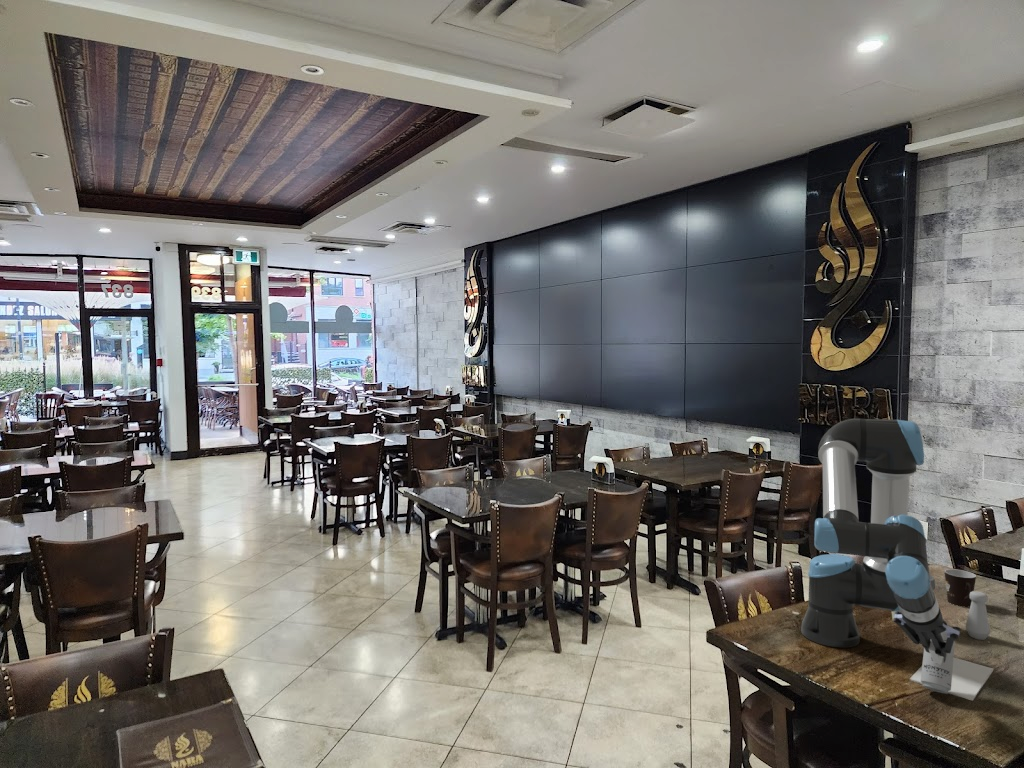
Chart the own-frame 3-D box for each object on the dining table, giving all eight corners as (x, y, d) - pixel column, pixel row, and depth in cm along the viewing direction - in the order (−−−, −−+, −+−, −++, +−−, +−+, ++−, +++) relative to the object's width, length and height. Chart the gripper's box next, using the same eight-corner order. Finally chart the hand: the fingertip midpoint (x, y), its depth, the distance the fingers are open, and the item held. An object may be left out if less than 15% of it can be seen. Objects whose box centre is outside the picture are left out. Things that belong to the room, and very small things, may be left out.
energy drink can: (920, 683, 150) (926, 620, 156) (920, 687, 155) (926, 625, 160) (951, 692, 147) (956, 627, 152) (949, 695, 151) (955, 632, 157)
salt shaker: (994, 642, 180) (995, 597, 180) (971, 640, 181) (972, 595, 181) (983, 633, 186) (984, 589, 186) (961, 631, 187) (962, 588, 187)
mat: (972, 700, 149) (972, 699, 149) (909, 680, 158) (909, 678, 158) (993, 670, 164) (993, 668, 164) (934, 653, 173) (934, 651, 173)
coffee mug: (944, 596, 215) (945, 567, 215) (976, 602, 210) (977, 572, 210) (941, 606, 206) (942, 576, 206) (973, 613, 201) (974, 582, 201)
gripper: (881, 614, 142) (903, 663, 153) (950, 632, 132) (968, 683, 144) (890, 585, 145) (911, 635, 157) (958, 601, 135) (975, 653, 147)
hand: (938, 658), depth 150 cm, fingers closed
